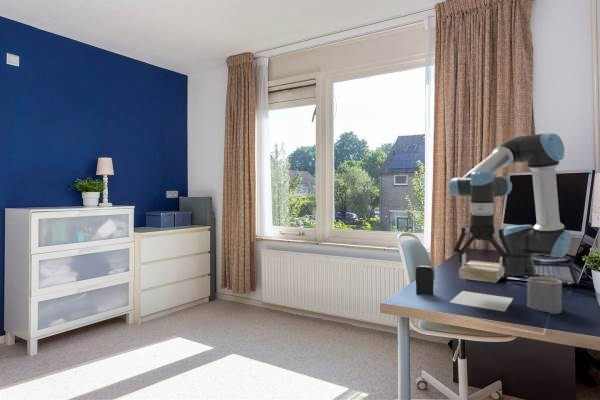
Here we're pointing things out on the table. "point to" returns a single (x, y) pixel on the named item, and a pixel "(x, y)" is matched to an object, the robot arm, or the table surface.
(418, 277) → the battery
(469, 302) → the grey mat
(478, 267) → the board
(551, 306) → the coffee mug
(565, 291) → the table surface
